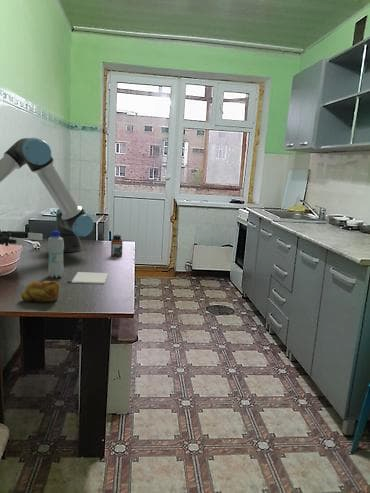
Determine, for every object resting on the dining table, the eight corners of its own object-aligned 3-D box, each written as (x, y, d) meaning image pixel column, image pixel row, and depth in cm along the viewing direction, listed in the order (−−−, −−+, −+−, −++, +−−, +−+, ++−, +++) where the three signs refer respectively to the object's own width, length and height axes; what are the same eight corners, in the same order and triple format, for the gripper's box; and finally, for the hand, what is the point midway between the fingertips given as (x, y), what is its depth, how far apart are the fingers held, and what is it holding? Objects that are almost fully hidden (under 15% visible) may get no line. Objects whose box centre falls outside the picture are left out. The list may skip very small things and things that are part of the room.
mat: (74, 273, 173) (74, 271, 172) (108, 274, 174) (108, 272, 174) (67, 282, 159) (67, 281, 159) (104, 283, 160) (104, 282, 160)
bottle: (57, 279, 162) (57, 232, 158) (44, 277, 164) (43, 230, 160) (67, 275, 168) (67, 230, 164) (54, 273, 170) (54, 228, 166)
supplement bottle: (112, 254, 212) (112, 233, 210) (123, 254, 212) (123, 234, 210) (109, 256, 206) (110, 235, 204) (121, 257, 206) (121, 236, 204)
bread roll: (18, 304, 133) (18, 282, 131) (24, 295, 142) (24, 274, 140) (58, 304, 135) (57, 282, 134) (61, 295, 145) (61, 274, 143)
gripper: (6, 238, 181) (48, 243, 177) (-33, 248, 156) (15, 254, 153) (6, 222, 179) (48, 227, 176) (-33, 230, 155) (15, 235, 152)
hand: (33, 239), depth 164 cm, fingers open, 13 cm apart
